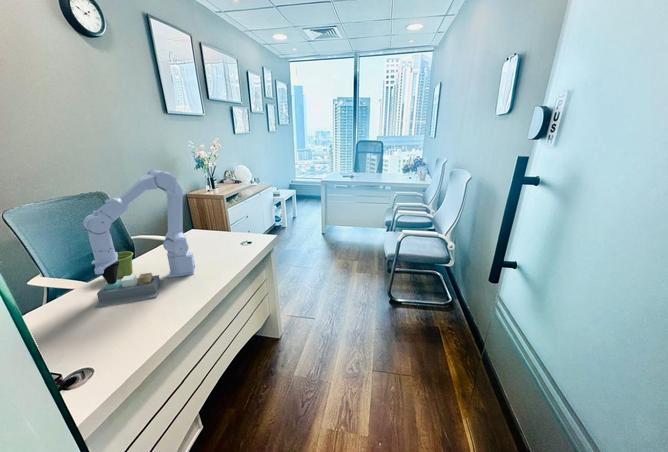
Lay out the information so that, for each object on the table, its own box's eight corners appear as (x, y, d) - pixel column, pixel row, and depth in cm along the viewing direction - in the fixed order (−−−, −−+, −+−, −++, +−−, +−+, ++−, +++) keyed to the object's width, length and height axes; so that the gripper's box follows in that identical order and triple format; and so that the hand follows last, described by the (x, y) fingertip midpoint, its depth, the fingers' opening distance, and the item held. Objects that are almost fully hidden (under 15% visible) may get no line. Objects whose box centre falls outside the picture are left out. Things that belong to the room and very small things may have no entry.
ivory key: (137, 282, 100) (135, 274, 99) (134, 287, 97) (132, 279, 96) (126, 284, 99) (124, 276, 98) (123, 289, 95) (120, 280, 94)
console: (163, 280, 108) (161, 272, 106) (156, 297, 96) (154, 288, 95) (109, 288, 101) (106, 279, 100) (94, 307, 90) (91, 297, 88)
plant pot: (122, 281, 106) (117, 262, 104) (103, 278, 108) (98, 259, 105) (142, 270, 115) (138, 252, 112) (124, 268, 117) (120, 250, 114)
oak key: (153, 280, 102) (151, 272, 101) (150, 285, 99) (149, 277, 98) (142, 282, 100) (140, 274, 99) (139, 286, 97) (137, 278, 96)
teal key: (122, 287, 98) (120, 279, 97) (119, 292, 95) (116, 284, 94) (110, 289, 97) (108, 281, 96) (106, 294, 94) (104, 286, 93)
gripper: (97, 242, 96) (106, 275, 100) (78, 258, 83) (89, 295, 87) (121, 240, 98) (128, 272, 103) (106, 255, 86) (115, 291, 90)
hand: (112, 282), depth 95 cm, fingers closed, pressing on teal key
